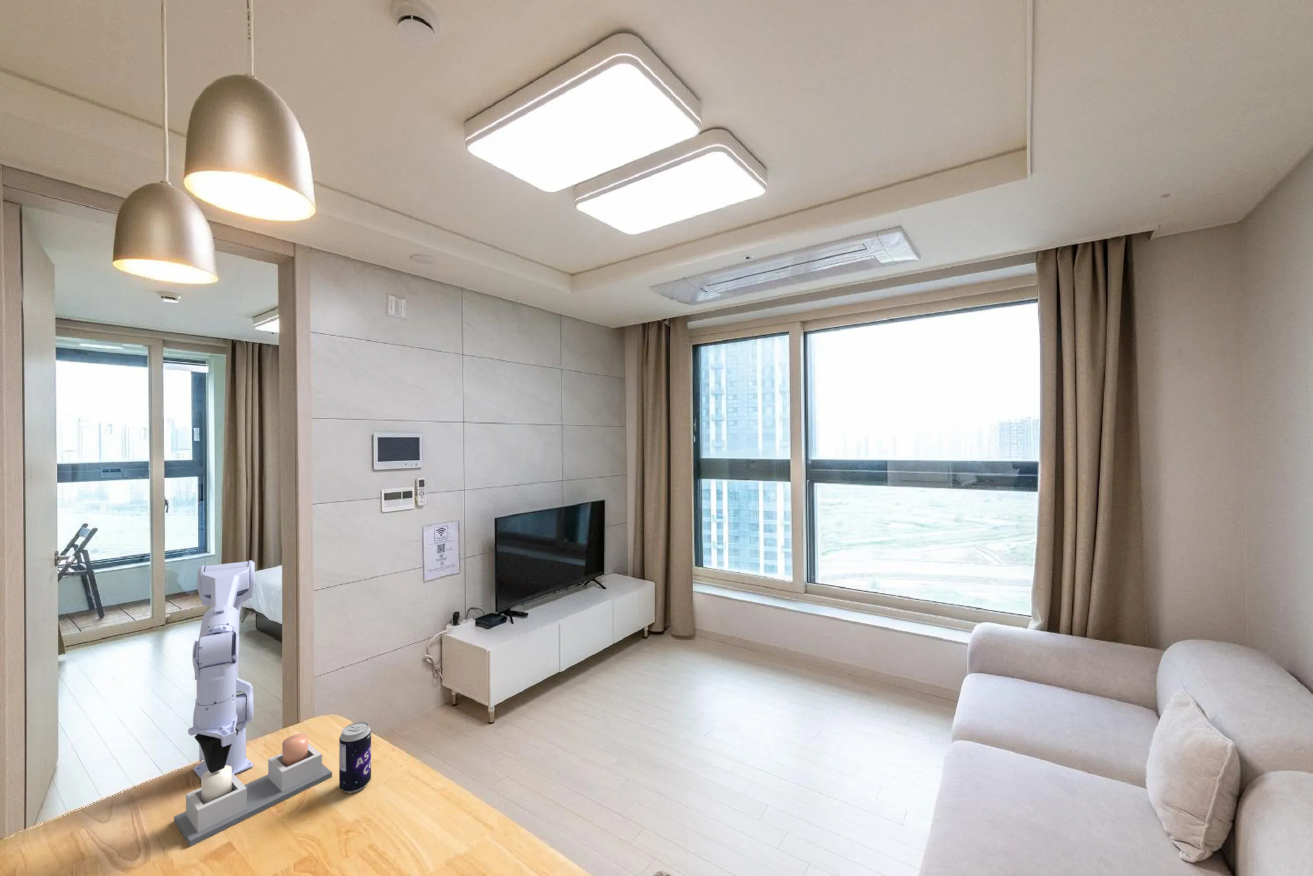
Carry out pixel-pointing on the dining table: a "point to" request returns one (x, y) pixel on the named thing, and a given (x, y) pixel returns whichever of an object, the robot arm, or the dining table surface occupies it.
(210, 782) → the cream plug
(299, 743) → the terracotta plug
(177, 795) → the dining table surface
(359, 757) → the beverage can
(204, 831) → the plug panel
